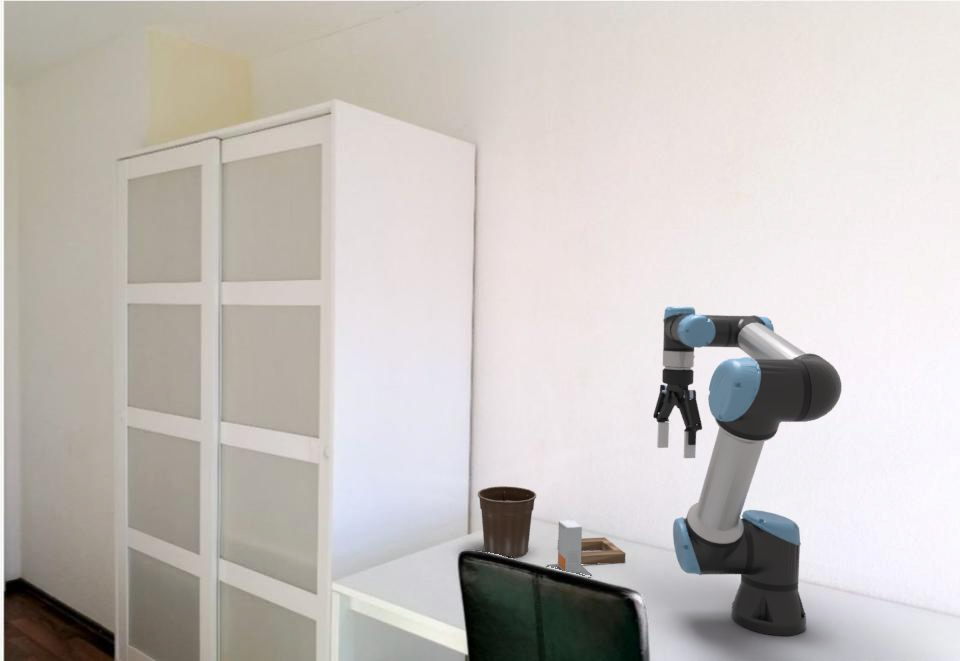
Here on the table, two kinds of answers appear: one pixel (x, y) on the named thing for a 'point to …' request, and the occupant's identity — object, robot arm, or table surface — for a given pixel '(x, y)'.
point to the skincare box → (569, 546)
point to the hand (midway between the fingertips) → (675, 452)
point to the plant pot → (506, 519)
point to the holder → (606, 556)
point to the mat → (576, 573)
